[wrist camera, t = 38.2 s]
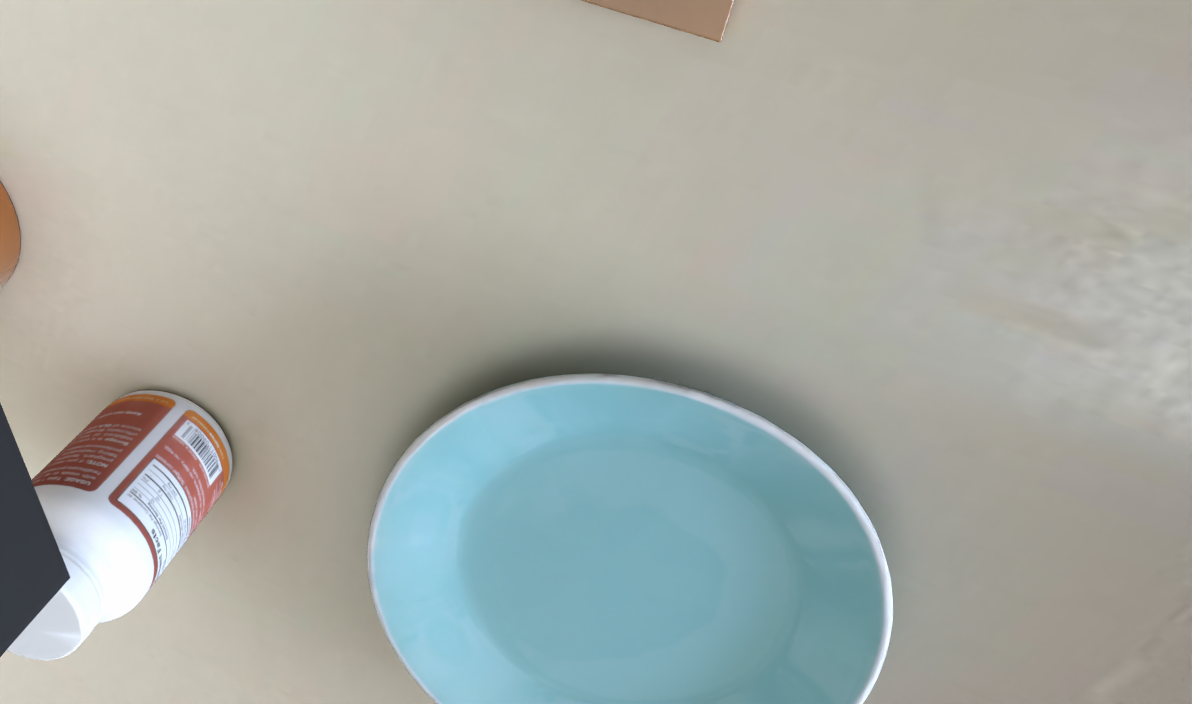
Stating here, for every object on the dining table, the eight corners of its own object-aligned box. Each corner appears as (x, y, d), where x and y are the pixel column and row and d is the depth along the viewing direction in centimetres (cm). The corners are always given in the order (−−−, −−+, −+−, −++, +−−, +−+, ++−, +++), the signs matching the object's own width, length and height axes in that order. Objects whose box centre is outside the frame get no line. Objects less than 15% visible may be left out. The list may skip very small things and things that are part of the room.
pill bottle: (91, 460, 50) (-76, 628, 40) (125, 360, 47) (-48, 516, 37) (215, 522, 50) (79, 702, 41) (256, 427, 47) (120, 597, 38)
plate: (293, 551, 50) (267, 592, 48) (603, 233, 40) (591, 264, 38) (645, 811, 55) (638, 860, 53) (1002, 583, 45) (1014, 631, 43)
